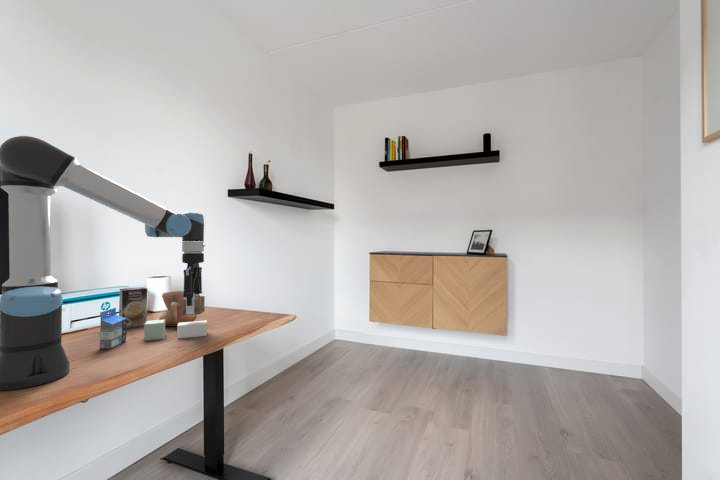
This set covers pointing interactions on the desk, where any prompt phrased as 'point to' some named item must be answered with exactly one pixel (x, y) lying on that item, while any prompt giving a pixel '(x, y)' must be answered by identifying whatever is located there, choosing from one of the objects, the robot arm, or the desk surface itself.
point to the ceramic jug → (175, 309)
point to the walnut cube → (196, 305)
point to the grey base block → (192, 329)
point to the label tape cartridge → (112, 329)
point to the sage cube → (154, 329)
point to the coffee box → (133, 306)
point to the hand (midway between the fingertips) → (193, 312)
